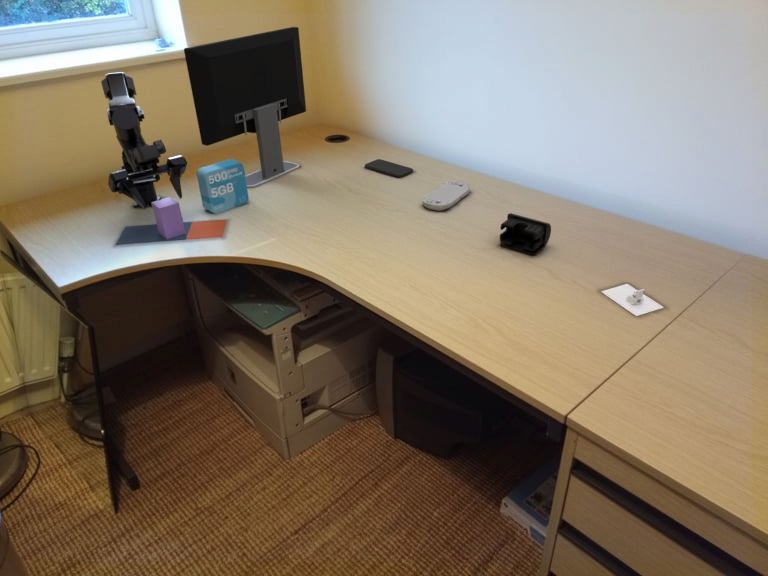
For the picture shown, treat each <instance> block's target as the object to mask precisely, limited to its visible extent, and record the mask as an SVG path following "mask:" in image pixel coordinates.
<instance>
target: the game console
mask: <svg viewBox="0 0 768 576" xmlns="http://www.w3.org/2000/svg"><path fill="white" fill-rule="evenodd" d="M470 192H471V185H470V184H469V183H467V182H462V181H455V180H452V181H451V180H450V181H447V182H444V183H442V184H440V185H439V186H438V187H436V188H435V189H434V190H432V191H431V192H429V193H428V194H426V195H425V196H424V197H423V199H422V205H423V206H424V207H425V208H426V209H428V210H433V211H438V212H441V211H446V210H447V209H450V208H451V207H453V206H454V205H455V204H456V203H458V202H459V201H460V200H462V199H463V198H464V197H465V196H467V195H468V194H469V193H470Z"/></svg>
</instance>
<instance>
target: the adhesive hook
mask: <svg viewBox="0 0 768 576" xmlns="http://www.w3.org/2000/svg"><path fill="white" fill-rule="evenodd" d="M644 291H645V288H643V289H636V290H635V291H634V292H633V293H631V294H629V295H628V296H627V297H626V298H625V300H626V301H628V302H629V303H630V304H631V305H641V304H643V303H644V302H645V298H644V295H645V294H644Z"/></svg>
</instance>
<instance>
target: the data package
mask: <svg viewBox="0 0 768 576" xmlns="http://www.w3.org/2000/svg"><path fill="white" fill-rule="evenodd" d="M245 176H246V171H245V166H244V164H243V163H242V162H241V161H237V160H235V159H232V158H229V159H226V160H225V159H224V160H222V161H219V162H215V163H212V164H209V165H205V166H202V167H199V168H198V169H197V171H196V178H197V183H198V189H199V193H200V198H201V203H202V204H201V205H202V207H203V209H205V210H207V211H208V212H210V213H212V214H219V213H221V212H224V211H226V210H230V209H233V208H236V207H240V206H242V205H244V204H246V203H247V202H248V201H249V192H248V187H247V184H246V178H245Z"/></svg>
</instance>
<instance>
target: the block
mask: <svg viewBox="0 0 768 576" xmlns="http://www.w3.org/2000/svg"><path fill="white" fill-rule="evenodd" d="M151 204H152V206H151V207H152V211H153V215H154V219H155V223H156V224H157V228H158V232H159V234H161V235H162V236H163V237H164V238H166V239H170V238H173V237H176V236H180V235H183V234H186V233H185V228H184V224H183V222H184V220H183V219H184V218H183V215H182V211H181V206H180V202H179V201H177V200H176V199H174V198H173V197H171V196H168V197H165V198H162V199H161V198H160V200H158V201H154V202H151Z"/></svg>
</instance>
